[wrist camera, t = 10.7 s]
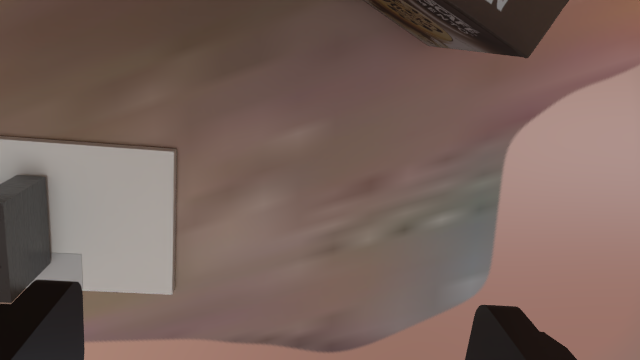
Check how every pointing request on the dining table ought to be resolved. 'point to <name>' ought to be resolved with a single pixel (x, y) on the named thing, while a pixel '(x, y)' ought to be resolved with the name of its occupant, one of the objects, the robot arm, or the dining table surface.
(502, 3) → the coffee box
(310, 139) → the dining table surface
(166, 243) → the gauge base
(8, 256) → the tall dark grey box
